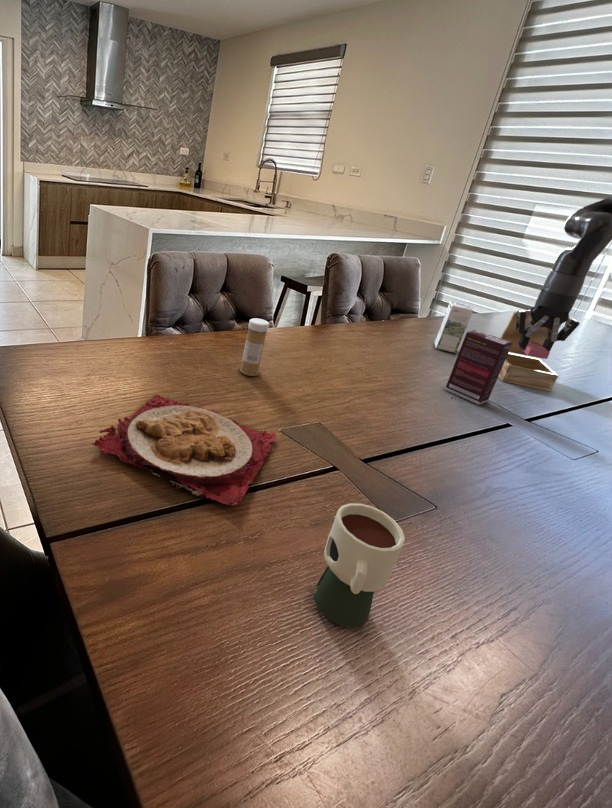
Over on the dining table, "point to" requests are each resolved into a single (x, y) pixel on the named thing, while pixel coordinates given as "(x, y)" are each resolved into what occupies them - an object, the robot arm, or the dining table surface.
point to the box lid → (514, 335)
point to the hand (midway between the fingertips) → (532, 350)
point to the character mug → (357, 563)
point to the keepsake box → (527, 372)
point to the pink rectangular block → (536, 350)
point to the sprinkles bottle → (254, 346)
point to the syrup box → (453, 327)
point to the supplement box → (478, 366)
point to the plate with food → (191, 448)
